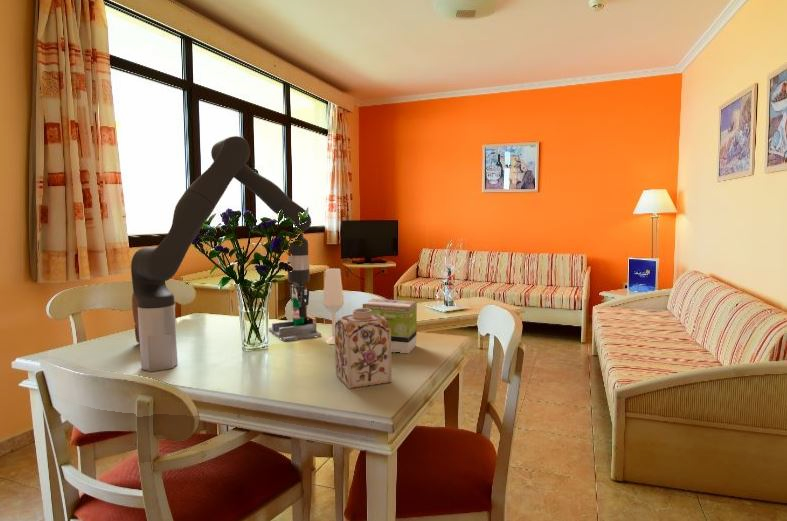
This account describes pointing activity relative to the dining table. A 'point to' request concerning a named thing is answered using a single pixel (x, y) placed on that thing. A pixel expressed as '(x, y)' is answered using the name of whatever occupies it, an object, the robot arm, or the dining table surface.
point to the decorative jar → (363, 349)
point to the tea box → (398, 321)
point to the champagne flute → (333, 296)
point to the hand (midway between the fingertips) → (299, 315)
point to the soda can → (297, 313)
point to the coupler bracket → (295, 329)
